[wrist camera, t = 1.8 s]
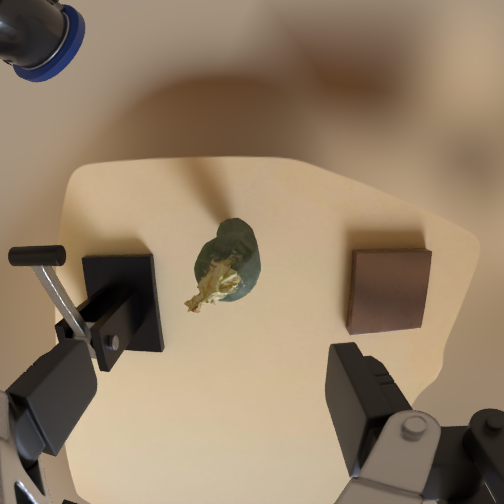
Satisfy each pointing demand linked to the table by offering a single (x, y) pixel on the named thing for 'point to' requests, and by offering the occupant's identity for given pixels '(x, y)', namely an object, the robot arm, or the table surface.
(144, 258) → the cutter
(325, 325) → the table surface
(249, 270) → the vegetable
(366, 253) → the board
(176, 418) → the table surface
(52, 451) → the robot arm
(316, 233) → the table surface
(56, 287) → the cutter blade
